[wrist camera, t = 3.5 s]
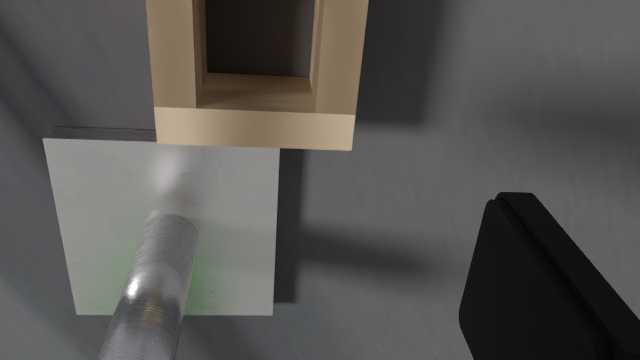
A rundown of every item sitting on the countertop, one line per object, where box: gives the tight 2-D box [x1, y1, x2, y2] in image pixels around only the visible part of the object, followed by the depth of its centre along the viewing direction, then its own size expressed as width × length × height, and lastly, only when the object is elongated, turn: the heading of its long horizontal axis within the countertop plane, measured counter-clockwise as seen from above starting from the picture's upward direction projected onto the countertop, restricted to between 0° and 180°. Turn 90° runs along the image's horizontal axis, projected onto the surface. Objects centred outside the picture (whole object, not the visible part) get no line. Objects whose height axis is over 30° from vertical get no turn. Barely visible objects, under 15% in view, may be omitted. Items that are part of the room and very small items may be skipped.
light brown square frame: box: [146, 0, 369, 151], centre depth 21 cm, size 7×7×4 cm
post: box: [43, 126, 280, 360], centre depth 22 cm, size 10×10×12 cm
